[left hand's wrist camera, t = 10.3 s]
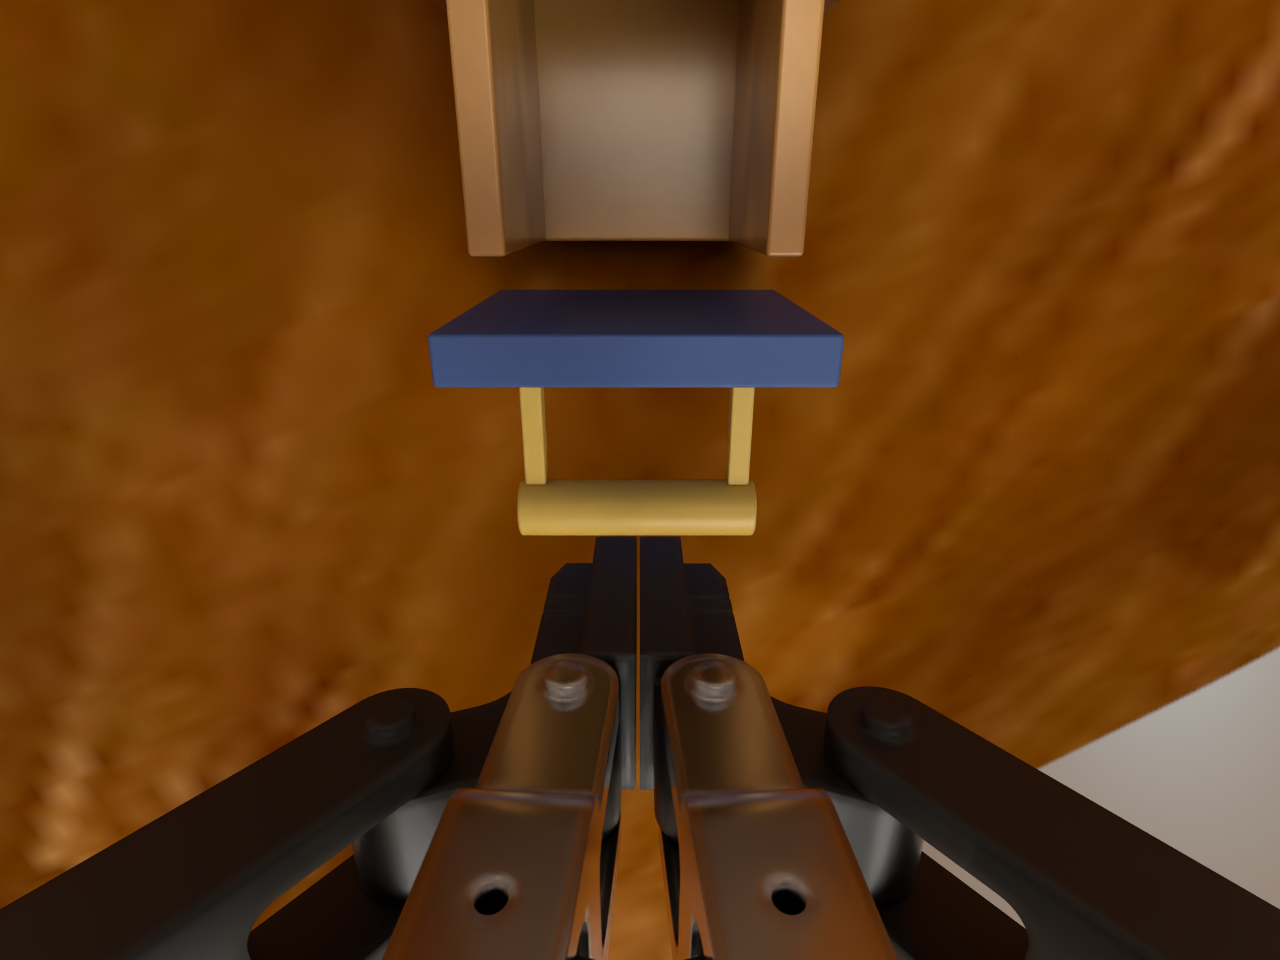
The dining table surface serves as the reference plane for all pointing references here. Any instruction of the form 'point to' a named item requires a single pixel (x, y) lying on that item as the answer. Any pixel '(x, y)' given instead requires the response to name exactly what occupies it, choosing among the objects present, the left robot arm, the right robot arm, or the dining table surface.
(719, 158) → the drawer
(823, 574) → the dining table surface
